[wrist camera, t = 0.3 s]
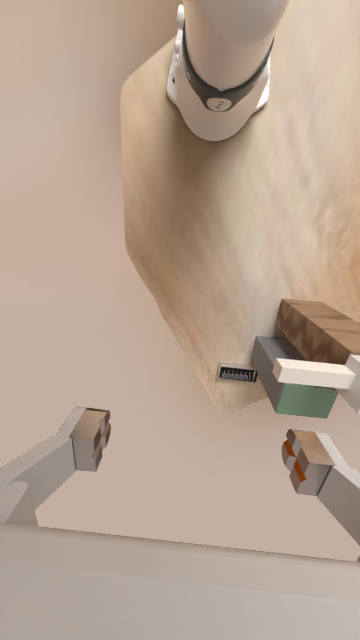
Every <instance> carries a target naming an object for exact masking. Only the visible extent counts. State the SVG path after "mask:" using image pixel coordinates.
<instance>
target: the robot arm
mask: <svg viewBox="0 0 360 640" xmlns="http://www.w3.org/2000/svg"><path fill="white" fill-rule="evenodd" d="M288 2H289V0H183V5H179V8H178V14H177V28H178V32H177V37H176V41H175V47H174V52H173V57H172V62H171V67H170V72H169V77H168V82H167V95H168V97H169V98H170V100H171V101H172V102H173V103H174V104H175V105H176V106H177V107H178V108H179V110H180V112H181V114H182V117H183V119H184V121H185V123H186V125H187V126H188V127H189V129H190V130H191V131H192V132H193V133H194V134H195V135H197V136H198V137H200V138H202V139H204V140H208V141H221V140H225V139H227V138H229V137H231V136H233V135H234V134H236V133H237V132H238V131H239V130H240V129H241V128H242V127H243V126H244V125H245V123H246V122H247V120H248V119H249V118H250V116H251V115H252V114H253V113H255V112H256V111H258V110H259V109H261V108H262V107H263V106H264V105H265V104H266V103H267V100H268V98H269V83H270V53H271V49H272V45H273V41H274V36H275V33H276V31H277V28H278V26H279V24H280V21H281V19H282V17H283V14H284V12H285V9H286V7H287V4H288ZM174 79H175V83H173V80H174ZM109 419H110V411H108V410H101V409H93V408H83V407H75V408H74V409H73V410H72V412H71V413H70V415H69V416H68V418H67V419H66V421H65V423H64V424H63V425H62V427H61V428H60V430H59V431H58V433H57V434H56V436H51V437H49V438H48V439H46V440H45V441H43V442H41V443H40V444H38V445H36V446H35V447H33V448H32V449H30V450H28V451H27V452H25V453H24V454H22V455H20V456H19V457H17V458H16V459H14V460H12V461H11V462H9V463H7V464H6V465H4V466H3V467H1V468H0V640H360V556H359V558H358V560H357V562H353V561H343V560H335V559H326V558H317V557H308V556H299V555H290V554H281V553H271V552H264V551H255V550H246V549H237V548H228V547H219V546H210V545H201V544H192V543H183V542H174V541H165V540H156V539H155V540H154V539H147V538H137V537H129V536H120V535H111V534H102V533H93V532H83V531H75V530H65V529H56V528H48V527H39V526H38V523H37V519H36V516H35V511H34V510H35V509H36V508H37V507H39V506H40V505H41V504H42V503H43V502H44V501H45V500H46V499H47V498H48V497H49V496H50V495H51V494H52V493H53V492H54V491H55V490H57V488H59V487H60V486H61V485H62V484H63V483H64V482H65V481H66V480H67V479H68V478H69V477H70V476H71V475H72V474H73V473H74V472H75V470H81V471H94V472H96V471H97V468H98V466H99V463H100V461H101V458H102V450H103V449H104V448H105V447H106V446H107V443H108V440H109V436H110V429H111V427H110V423H109V422H108V421H109ZM286 436H287V439H288V440H286V441H285V442H284V443H283V446H282V458H283V461H284V464H285V466H286V467H287V468H288V469H289V470H290V471H291V473H290V476H289V477H290V479H291V481H292V484H293V487H294V489H295V491H296V493H298V494H305V495H313V496H317V498H318V499H319V500H320V501H321V502H322V503H323V504H324V506H325V507H326V508H327V509H328V510H329V511H330V513H331V514H332V515H333V516H334V517H335V518H336V519H337V521H338V522H339V523H340V524H341V525H342V526H343V527H344V528H345V530H346V531H347V532H348V533H349V534H350V535H351V536H352V538H353V539H354V540H355V541H356V542H357V543H358V544H359V545H360V473H359V472H357V471H356V470H355V469H354V468H349V466H348V465H347V464H346V462H345V460H344V459H343V457H342V456H341V455H340V453H339V452H338V450H337V449H336V447H335V446H334V444H333V443H332V441H331V440H330V438H329V437H328V435H327V434H325V433H324V432H314V431H313V432H312V431H304V430H292V429H289V430H288V432H287V434H286Z"/></svg>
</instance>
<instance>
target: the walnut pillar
mask: <svg viewBox="0 0 360 640" xmlns="http://www.w3.org/2000/svg"><path fill="white" fill-rule="evenodd" d="M275 325H276V326H277V327H278V328H279V329H280V330H281V332H282V333H283V334H284V335H285V336H286V337H287V338H288V340H289V341H290V342H291V343H292V344H293V345H294V346H295V348H296V349H297V350H298V351H299V352H300V353H301V354H302V355H303V357H304V358H305V359H306V360H307V361H309V362H319V363H329V364H339V365H345V364H346V362H347V360H348V357H349V355H360V324H359V323H358V322H356V321H354V320H352V319H351V318H349V317H347V316H345V315H343V314H342V313H340V312H338V311H336V310H334V309H333V308H331V307H329V306H327V305H326V304H324V303H321V302H310V301H300V300H290V299H282V301H281V304H280V308H279V312H278V315H277V319H276V323H275ZM331 388H332V387H331ZM332 390H333V391H337V390H336V389H335V388H332Z"/></svg>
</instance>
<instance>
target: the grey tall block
mask: <svg viewBox="0 0 360 640" xmlns="http://www.w3.org/2000/svg"><path fill="white" fill-rule="evenodd" d="M276 358H280V359H290V360H300V361H307V360H306V359H305V358H304V357H303V355H302V354H301V353H300V352H299V351H298V350H297V349H296V348H295V346H294V345H293V344H292V343H291V342H290V341H289V340H287V339H277V338H267V337H257V336H256V340H255V344H254V348H253V353H252V357H251V360H252V362H253V364H254V366H255V369H256V371H257V373H258V375H259V377H260V379H261V382H262V384H263V386H264V388H265V390H266V393H267V395H268V397H269V399H270V401H271V403H272V406H273V408H274V410H275V412H276V413H280V414H289V415H298V416H308V417H318V418H327V417H328V415H329V412H330V410H331V408H332V406H333V403H334V401H335V399H336V397H337V394H338V391H333V390H332V388H331V387H322V386H312V385H303V384H293V383H283V382H278V381H277V379H276V377H275V376H274V374H273V372H272V371H273V368H274V364H275V361H276Z"/></svg>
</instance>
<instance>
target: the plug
mask: <svg viewBox="0 0 360 640" xmlns="http://www.w3.org/2000/svg"><path fill="white" fill-rule="evenodd" d="M272 372H273V374H274V376H275V377H276V379H277V381H278V382H283V383H293V384H303V385H312V386H322V387H332V388H335V389H336V390H337V391H338V392H339V393H340V395H341V396H342V397H343V398H344V399H345V400H346V401H347V402H348V403H349V404H350V406H351V407H352V408H353V409H354V410H355V411H356V412H357V413H358V414H360V355H349V357H348V360H347V362H346V364H345V365H339V364H329V363H319V362H309V361H300V360H290V359H280V358H276V361H275V364H274V368H273V371H272Z"/></svg>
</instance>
